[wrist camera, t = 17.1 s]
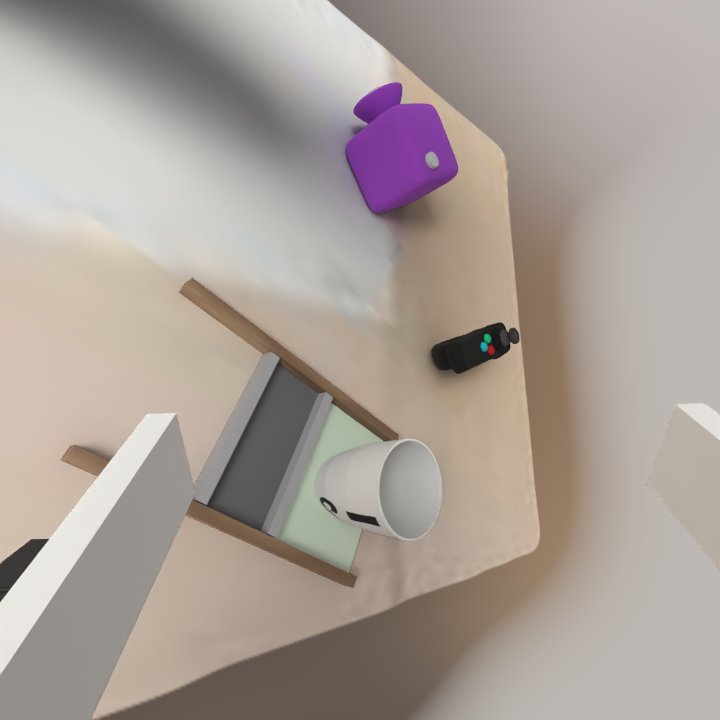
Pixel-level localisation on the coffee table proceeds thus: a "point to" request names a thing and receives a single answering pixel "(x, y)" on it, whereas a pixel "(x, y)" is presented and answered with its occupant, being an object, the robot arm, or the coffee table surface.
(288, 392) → the tray
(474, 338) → the controller
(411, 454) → the cup
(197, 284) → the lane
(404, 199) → the toy camera
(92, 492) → the robot arm
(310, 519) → the pad
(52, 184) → the coffee table surface
